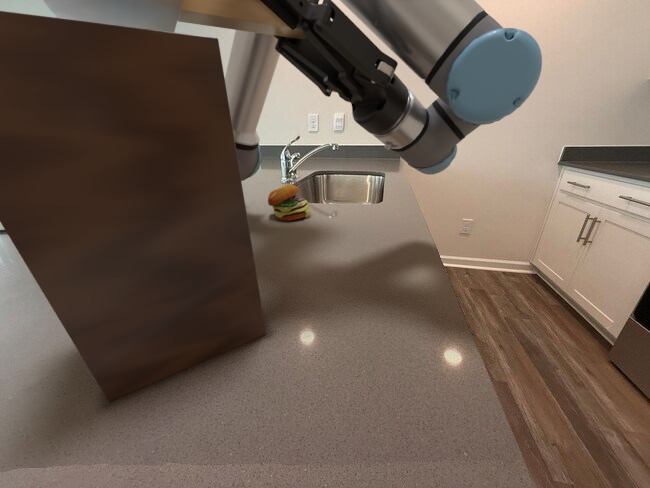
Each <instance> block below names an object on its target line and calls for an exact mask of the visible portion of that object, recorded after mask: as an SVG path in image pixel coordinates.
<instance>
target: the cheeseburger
mask: <svg viewBox="0 0 650 488" xmlns="http://www.w3.org/2000/svg"><path fill="white" fill-rule="evenodd" d="M299 191H300V188H298V186H296V185H294V184H291V183H287V184H285V185H283V186H281V187H279V188H276V189H274V190H271V191H270V192H269V194H268V196H267V204H268V206H271V207H272V209H273V214H274V215H275V216H276V218H277V219H278V220H280V221H282V222H283V221H284V222H286V221H287V222H289V221H294V220H299V219H303V218H309V216H310V214H311V209H310V208H309V205H308V204H309V202H308V200H306V198H305V197H297V196H298V194H297V193H298V192H299Z"/></svg>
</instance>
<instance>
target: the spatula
mask: <svg viewBox="0 0 650 488" xmlns="http://www.w3.org/2000/svg"><path fill="white" fill-rule="evenodd" d="M41 1H42V2H43V4H44V5H45V6H46V7H47V9H49V11H50V12H51V13H52V14H53V15H54V18H62V19H70V20H78V21H86V22H94V23H102V24H110V25H118V26H126V27H134V28H142V29H150V30H158V31H166V32H174V33H175V31H176V28H177V24H178V23H185V24H191V25H199V26H207V27H214V28H220V29H228V30H234V31H235V30H241V31H248V32H255V33H262V34H269V35H276V36H283V37H290V38H297V39H305V38H307V37H306V36H305V35H304V34H303V33H302V32H301V30H300V28H299V26H300V23H299V22H298V25H297V27H296V29H294V30H292V29H291V28H290V27H289V26H288V25H286V24H285V23H284V22H283V21H282V20H281V19H280V18H279V17H278V16H277V15H276V14H274V13H273V12H272V11H271V10H270V9H269V8H268V7H267V6H266V5H265V4H264V3H262V2H261V1H260V0H41ZM308 1H309V0H308Z"/></svg>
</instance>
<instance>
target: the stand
mask: <svg viewBox="0 0 650 488" xmlns="http://www.w3.org/2000/svg"><path fill="white" fill-rule="evenodd" d="M242 182H243V181H241V176H240V170H239V164H238V158H237V152H236V145H235V139H234V133H233V127H232V121H231V115H230V109H229V102H228V96H227V90H226V84H225V72H224V66H223V60H222V54H221V49H220V42H219V38H218V37H213V36H205V35H198V34H190V33H189V34H188V33H182V32H181V33H180V32H175V31H174V32H166V31H158V30H150V29H142V28H134V27H126V26H118V25H110V24H102V23H94V22H86V21H78V20H70V19H62V18H56V17H55V16H54V17H53V16H46V15H36V14H29V13H23V12H21V13H20V12H13V11H6V10H0V224H1V226H2V228H3V230H5V231H6V232H7V233H6V234H7V236H8V238H9V239H10V241H11V243H12V244H13V246H14V247H15V249H16V250H17V253H18V254H19V255H20V257H21V259H22V260H23V262H24V264H25V265H26V268H27V269H28V270H29V272H30V273H31V276H32V277H33V279H34V280H35V282H36V284H37V285H38V287H39V289H40V291H41V292H42V293H43V296H44V297H45V298H46V301H47V302H48V303H49V305H50V307H51V308H52V310H53V312H54V313H55V316H56V317H57V318H58V320H59V322H60V323H61V325H62V327H63V329H64V331H65V332H66V333H67V335H68V337H69V338H70V340H71V342H72V343H73V345H74V347H75V348H76V350H77V351H78V353H79V354H80V356H81V358H82V360H83V361H84V364H86V366H87V368H88V369H89V371H90V373H91V374H92V376H93V378H94V380H95V381H96V383H97V385H98V386H99V388H100V389H101V391H102V393H103V394H104V396H105V397H106V400H107V401H108V402H113V401H114V400H117V399H120V398H122V397H124V396H127V395H129V394H131V393H134V392H135V391H138V390H140V389H143V388H145V387H147V386H149V385H152V384H154V383H156V382H159V381H162V380H163V379H166V378H168V377H170V376H173V375H175V374H177V373H179V372H182V371H184V370H186V369H189V368H191V367H194V366H196V365H198V364H201V363H203V362H205V361H207V360H210V359H212V358H214V357H217V356H219V355H221V354H225V353H226V352H228V351H230V350H233V349H236V348H238V347H240V346H242V345H245V344H247V343H249V342H251V341H254V340H257V339H258V338H260V337H263V336H265V335H267V331H266V323H265V318H264V317H265V316H264V313H263V306H262V305H263V304H262V300H261V293H260V288H259V282H258V281H259V280H258V275H257V268H256V262H255V257H254V251H253V250H254V249H253V243H252V237H251V233H250V227H249V220H248V213H247V208H246V202H245V195H244V188H243V183H242Z"/></svg>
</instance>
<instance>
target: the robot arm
mask: <svg viewBox="0 0 650 488" xmlns="http://www.w3.org/2000/svg"><path fill="white" fill-rule="evenodd" d="M260 1H261V2H262V3H264V4H265V5H266V6H267V7H268V8H269V9H270V10H271V11H272V12H273V13H274V14H276V15H277V16H278V17H279V18H280V19H281V20H282V21H283V22H284V23H285V24H286V25H288V26H289V27H290V28H291V29H292V30H294V29H296V27H297V25H298V22H299V23H300V26H299V28H300V30H301V32H302V33H303V34H304V35H305V36H306V37H307V38H305V39H297V38H290V37H283V36H276V35H269V34H262V33H255V32H248V31H241V30H234V35H233V40H232V43H231V48H230V53H229V58H228V62H227V66H226V71H225V74H224V78H225V84H226V90H227V96H228V102H229V109H230V115H231V121H232V127H233V133H234V139H235V145H236V152H237V158H238V164H239V170H240V176H241V182H244V181H246V180H247V179H249V178H252V177H253V176H255V174H256V173H257V172H258V171H259V169H260V167H261V165H262V160H263V155H262V152H261V146H260V145H261V144H260V140H261V138H260V135H259V134H258V132H257V127H258V124H259V121H260V119H261V115H262V113H263V109H264V107H265V103H266V100H267V96H268V93H269V90H270V88H271V85H272V82H273V78H274V75H275V72H276V69H277V65H278V63H279V60H280V56H282V57H283V58H284V59H285V60H287V61H288V62H289V63H290V64H291V65H292V66H293V67H294V68H296V69H297V70H298V71H299V72H300V73H301V74H303V75H304V77H306V78H307V79H308V80H309V81H310V82H312V83H313V85H315V86H316V87H317V88H318V89H319V90H320V92H321V93H322V94H323V95H324V96H325V97H328V98H330V97H331V95H332V93H337V94H338V96H339V98H341V99H342V100H343V101H345V102H347V103H350V105H351V110H352V111H351V112H352V113H351V114H352V118H353V120H354V122H355V123H356V124H358V125H359V126H361V127H362V128H363V129H364V130H365V131H367V132H368V133H370V134H371V135H372V136H373V137H375V138H376V139H377V140H378V141H379V142H381V143H382V144H384V146H383V147H384V149H385V150H391V151H393V152H394V153H395V154H396V155H397V156H398V157H399V158H401V159H402V160H403V161H404V162H405V163H407V165H408V166H409V167H411V168H413V169H415V170H416V171H418V172H420V173H421V174H424V175H430V176H431V175H436V174H439V173H441V172H443V171H445V170H446V169H448V167H450V165H451V164H452V162H453V160H454V159H456V156H457V153H458V144H459V143H461V142H462V141H463V140H464V139H465V138H467V136H468V135H470V134H471V133H473V132H474V131H475V130H476V129H478V128H479V127H481V126H483V125H484V126H485V125H490V124H494V123H496V122H499V121H501V120H503V119H504V118H506V117H508V116H510V115H512V114H513V113H514V112H515V111H517V110H518V109H519V108H521V107H522V105H523V104H524V103H525V102H526V101H527V100H528V99H529V97H530V96H531V94H532V93H533V91H534V90H535V88H536V86H537V84H538V82H539V80H540V77H541V72H542V69H543V68H542V67H543V66H542V65H543V55H542V50H541V47H540V44H539V43H538V42H537V40H536V39H535V38H534V37H533V36H532V34H530V33H528V32H527V31H525V30H522V29H518V28H514V27H503V26H502V25H501V24H500V23H499V22H498V20H496V19H495V18H494V17H492V16H491V15H490V14H489V13H488V12H486V10H485V9H484V8H483V7H482V6H481V5H480V4H479V3H478V2H477V1H476V0H339V1H340V2H341V4H343V5H344V6H345V8H347V9H348V10H349V11H350V12H351V13H352V14H353V15H354V16H355V17H356V18H357V19H358V20H359V21H360V22H361V23H362V24H363V25H365V27H366V28H368V30H369V31H370V32H372V33H373V34H374V35H375V36H376V37H377V38H378V39H379V40H380V41H381V42H382V43H383V44H384V45H385V46H386V47H387V48H388V49H389V50H390V51H391V52H392V53H393V54H394V55H395V56H397V57H398V59H400V61H402V62H403V64H405V66H407V67H408V68H409V69H410V71H412V72H413V73H414V74H415V75H416V76H417V77H418V78H419V79H420V80H421V81H422V82H424V84H425V85H426V86H428V88H429V89H430V91H432V93H434V94H435V95H436V96H437V98H436V99H435V100H433V102H432V103H431V104H429V106H428V107H425V106H424V104H422V102H421V101H420V100H419V99H418V97H417V96H416V95H415V94H414V93H413V91H412V90H410V89H409V88H408V87H407V85H406V84H405V83H404V82H403V81H402V80H401V79H400V78H399V76H398V75H397V74H396V73H395V72H396V69H397V67H398V61H397V60H396V59H394V58H393V57H391V56H389V55H388V54H386V53H385V52H384V51H382V50H381V49H380V48H379V47H378V46H377V45H376V44H375V43H374V42H373V41H372V40H371V39H370V38H369V36H367V35H366V34H365V33H364V32H363V30H361V28H359V26H358V25H356V24H355V22H354V21H353V20H351V19H350V18H349V16H348V15H346V14H345V12H344V11H343V10H342V9H341V8H340V7H339V6H338V5H337V4H336V3H335V2H334V1H333V0H322V3H320V0H309V1H308V0H260ZM0 234H7V232H6V231H5V229H0Z"/></svg>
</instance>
